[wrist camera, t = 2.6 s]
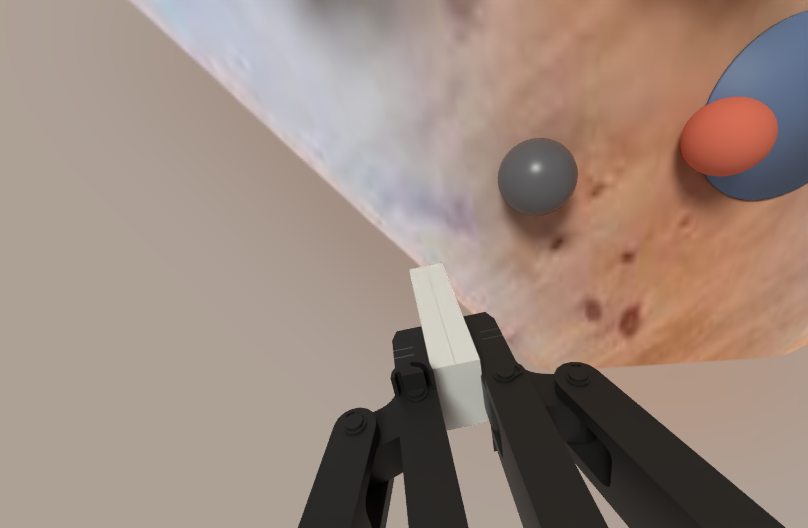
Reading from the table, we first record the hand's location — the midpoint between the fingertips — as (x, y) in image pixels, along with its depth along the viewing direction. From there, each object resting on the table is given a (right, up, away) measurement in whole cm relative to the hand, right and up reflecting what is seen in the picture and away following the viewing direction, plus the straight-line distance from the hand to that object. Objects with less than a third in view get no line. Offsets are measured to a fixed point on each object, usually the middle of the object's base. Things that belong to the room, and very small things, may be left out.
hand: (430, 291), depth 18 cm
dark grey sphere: (+8, +8, +11) cm, 16 cm away
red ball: (+22, +10, +11) cm, 27 cm away
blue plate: (+29, +13, +13) cm, 34 cm away
